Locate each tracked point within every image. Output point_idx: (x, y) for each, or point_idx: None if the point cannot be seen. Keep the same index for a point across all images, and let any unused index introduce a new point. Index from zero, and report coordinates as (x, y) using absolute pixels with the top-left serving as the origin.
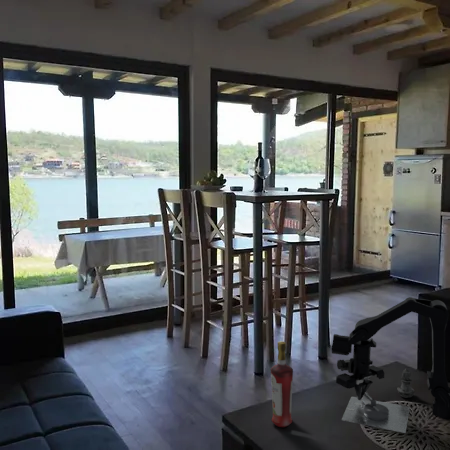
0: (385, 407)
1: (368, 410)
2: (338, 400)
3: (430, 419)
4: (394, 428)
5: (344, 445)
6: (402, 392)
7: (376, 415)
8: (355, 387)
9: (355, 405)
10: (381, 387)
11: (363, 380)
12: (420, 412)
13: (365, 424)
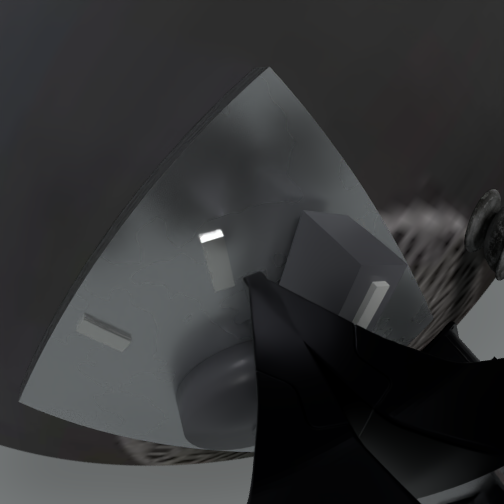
0: None
1: (205, 432)
2: (94, 42)
3: None
4: None
5: (34, 453)
6: (499, 267)
7: (221, 447)
8: (268, 439)
9: (181, 274)
10: (501, 72)
11: (427, 498)
12: (429, 323)
13: (139, 438)
